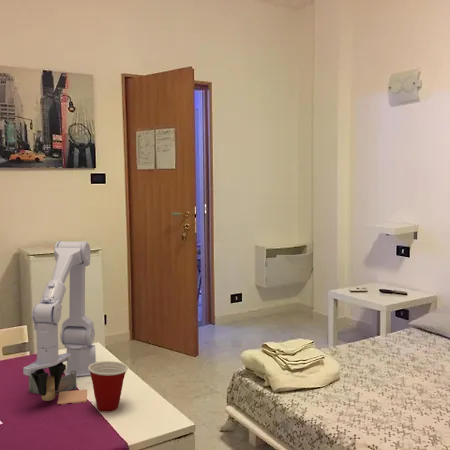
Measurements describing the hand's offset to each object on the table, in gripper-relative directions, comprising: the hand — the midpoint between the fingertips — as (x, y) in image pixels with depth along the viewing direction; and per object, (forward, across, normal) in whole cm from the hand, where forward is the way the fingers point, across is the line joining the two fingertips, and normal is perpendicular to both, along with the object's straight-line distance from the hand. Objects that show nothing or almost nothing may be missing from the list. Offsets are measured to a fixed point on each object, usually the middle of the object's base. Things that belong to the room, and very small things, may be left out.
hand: (48, 392), depth 148 cm
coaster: (+3, -7, +2) cm, 8 cm away
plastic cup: (+4, -8, +16) cm, 18 cm away
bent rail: (+3, -6, -6) cm, 8 cm away
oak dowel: (+2, 0, 0) cm, 2 cm away
